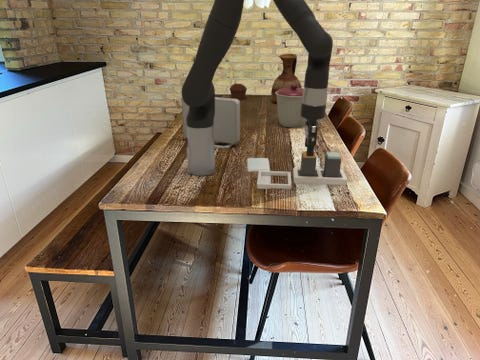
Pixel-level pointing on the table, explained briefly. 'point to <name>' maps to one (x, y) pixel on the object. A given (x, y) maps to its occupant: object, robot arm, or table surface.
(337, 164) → the dark board eraser
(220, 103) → the network device
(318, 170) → the white compartment holder
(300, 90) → the canister
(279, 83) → the ceramic pitcher
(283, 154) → the table surface
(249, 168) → the hard drive
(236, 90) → the muffin
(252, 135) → the table surface
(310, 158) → the dark grey orange block
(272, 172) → the tray
